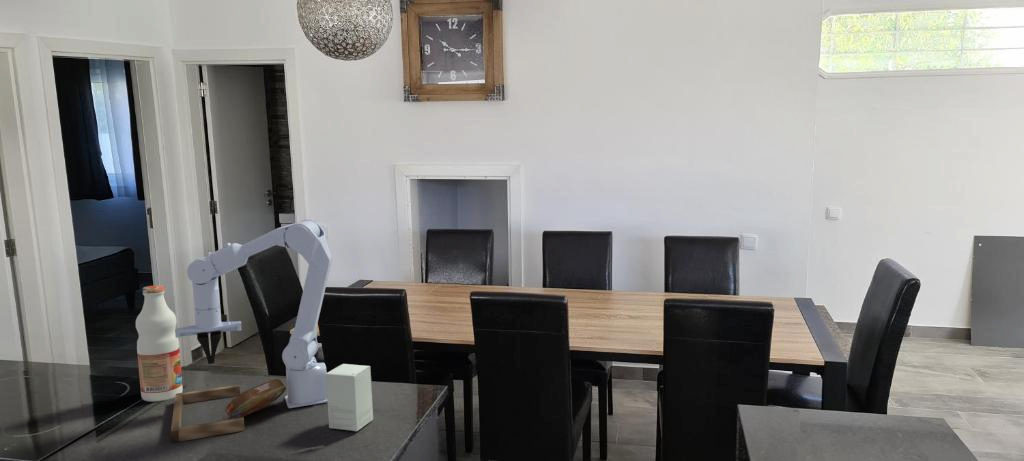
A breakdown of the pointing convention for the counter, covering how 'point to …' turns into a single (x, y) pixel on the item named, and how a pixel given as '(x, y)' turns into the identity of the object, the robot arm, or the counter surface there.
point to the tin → (255, 399)
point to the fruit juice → (158, 348)
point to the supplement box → (349, 397)
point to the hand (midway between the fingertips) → (211, 362)
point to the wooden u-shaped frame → (206, 428)
